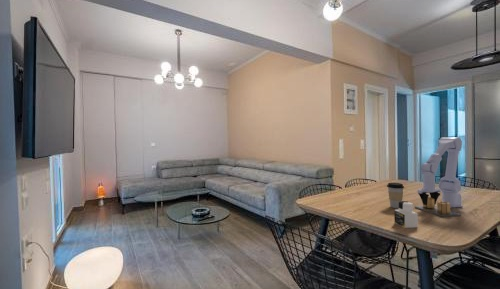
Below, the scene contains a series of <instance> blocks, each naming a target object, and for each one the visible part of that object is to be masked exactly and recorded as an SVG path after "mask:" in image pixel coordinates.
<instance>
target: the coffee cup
mask: <svg viewBox="0 0 500 289" xmlns="http://www.w3.org/2000/svg"><path fill="white" fill-rule="evenodd" d="M386 187H387V188H388V199H389V206H390V208H393V209H399V202H400V201H403V195H404V188H405V185H404V184H403V183H399V182H389V183H387V184H386Z"/></svg>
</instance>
